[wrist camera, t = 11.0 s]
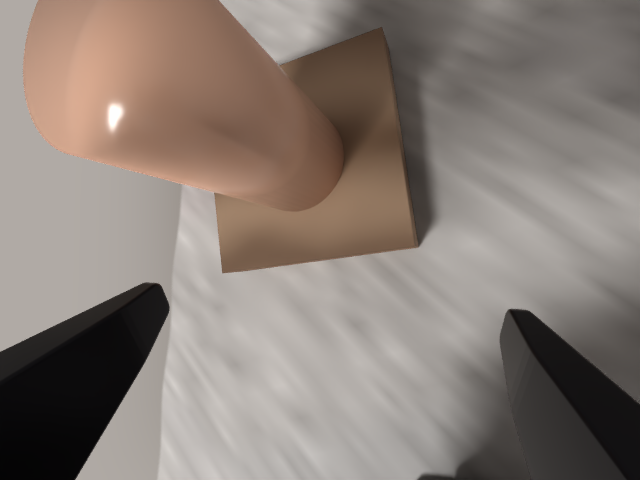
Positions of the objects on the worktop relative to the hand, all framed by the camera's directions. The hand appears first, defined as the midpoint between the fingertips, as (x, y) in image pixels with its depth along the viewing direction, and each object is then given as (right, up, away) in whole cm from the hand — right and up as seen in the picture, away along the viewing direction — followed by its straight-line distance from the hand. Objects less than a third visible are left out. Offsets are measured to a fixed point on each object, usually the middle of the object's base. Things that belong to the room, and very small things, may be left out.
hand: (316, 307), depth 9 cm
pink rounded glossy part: (-1, +6, +11) cm, 13 cm away
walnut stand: (-1, +6, +13) cm, 15 cm away
